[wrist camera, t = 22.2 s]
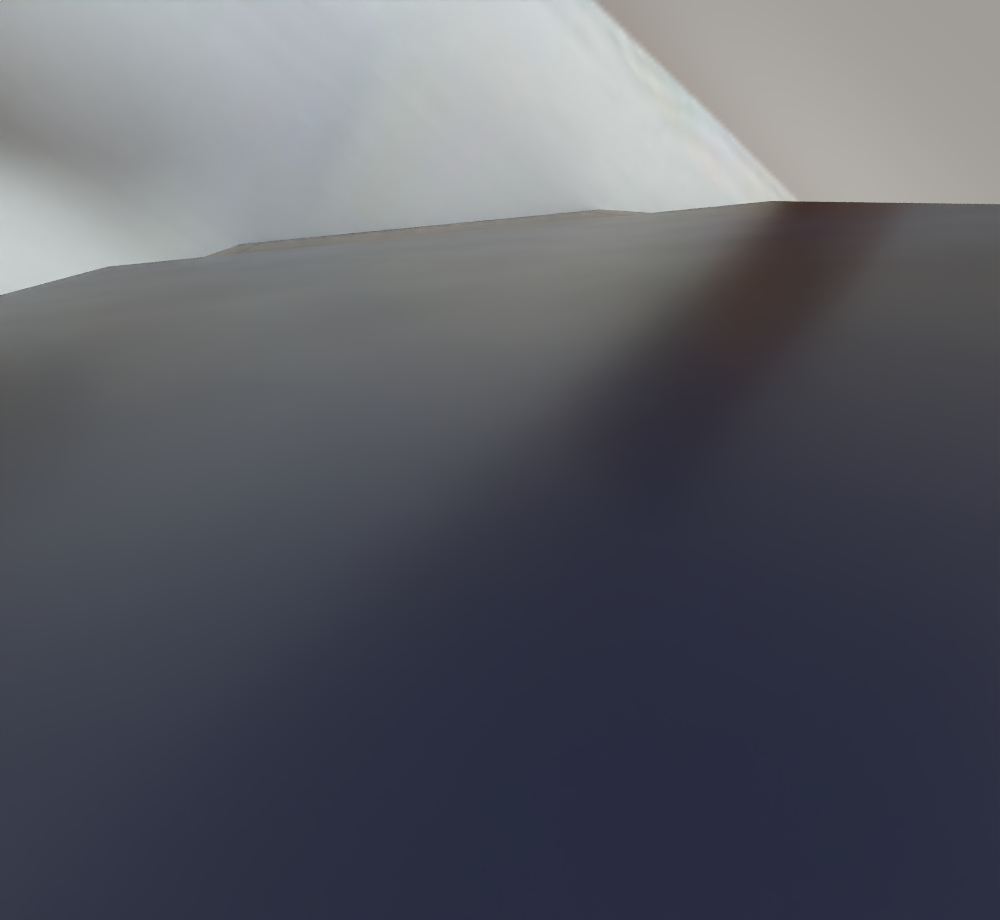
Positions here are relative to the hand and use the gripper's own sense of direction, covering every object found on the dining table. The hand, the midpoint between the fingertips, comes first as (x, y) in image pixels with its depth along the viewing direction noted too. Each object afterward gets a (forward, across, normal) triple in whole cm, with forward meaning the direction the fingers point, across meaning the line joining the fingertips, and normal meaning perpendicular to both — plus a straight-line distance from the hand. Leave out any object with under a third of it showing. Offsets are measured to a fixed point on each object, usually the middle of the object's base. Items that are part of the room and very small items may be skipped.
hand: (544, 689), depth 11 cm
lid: (-5, 0, -8) cm, 9 cm away
